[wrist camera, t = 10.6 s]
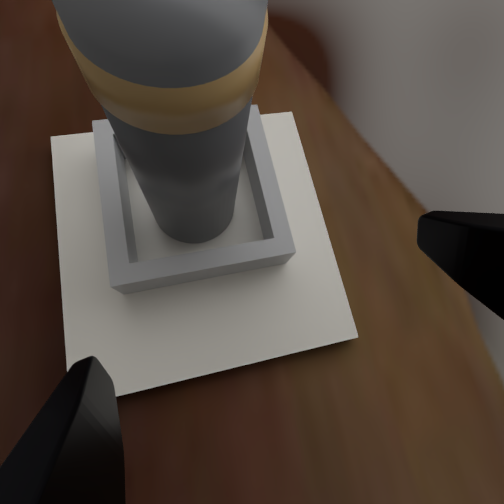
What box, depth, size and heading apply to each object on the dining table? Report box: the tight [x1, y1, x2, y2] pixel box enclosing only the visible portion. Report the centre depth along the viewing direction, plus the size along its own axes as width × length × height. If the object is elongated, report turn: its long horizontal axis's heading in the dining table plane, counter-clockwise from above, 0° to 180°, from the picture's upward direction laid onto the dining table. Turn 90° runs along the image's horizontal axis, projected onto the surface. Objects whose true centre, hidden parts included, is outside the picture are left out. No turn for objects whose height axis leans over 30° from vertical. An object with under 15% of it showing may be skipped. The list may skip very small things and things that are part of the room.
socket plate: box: [51, 105, 358, 397], centre depth 19 cm, size 16×16×4 cm
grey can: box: [52, 0, 268, 243], centre depth 14 cm, size 5×5×13 cm
